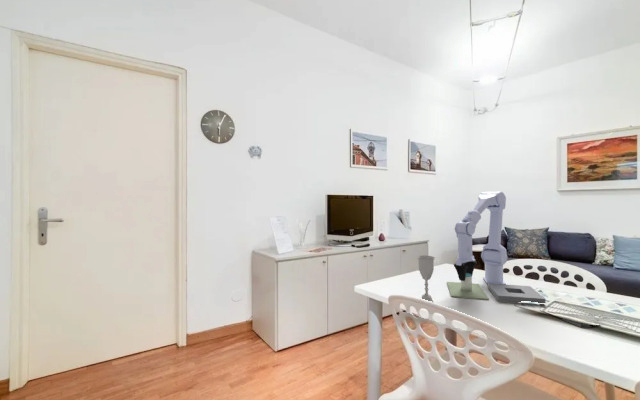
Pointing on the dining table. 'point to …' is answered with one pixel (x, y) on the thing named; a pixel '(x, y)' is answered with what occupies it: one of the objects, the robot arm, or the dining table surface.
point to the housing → (515, 293)
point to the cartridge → (467, 283)
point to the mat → (474, 294)
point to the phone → (577, 323)
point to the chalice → (426, 272)
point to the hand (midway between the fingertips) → (465, 278)
